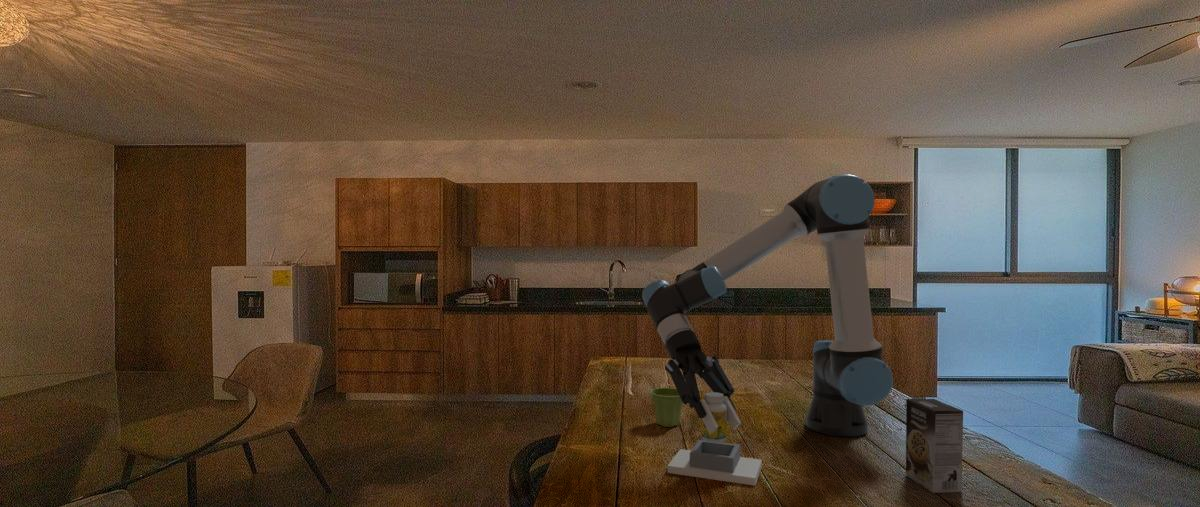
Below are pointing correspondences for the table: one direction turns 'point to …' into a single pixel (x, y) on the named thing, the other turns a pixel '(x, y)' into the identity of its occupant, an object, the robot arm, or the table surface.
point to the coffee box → (934, 445)
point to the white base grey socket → (716, 463)
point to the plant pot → (667, 406)
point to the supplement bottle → (719, 415)
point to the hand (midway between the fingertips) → (725, 428)
